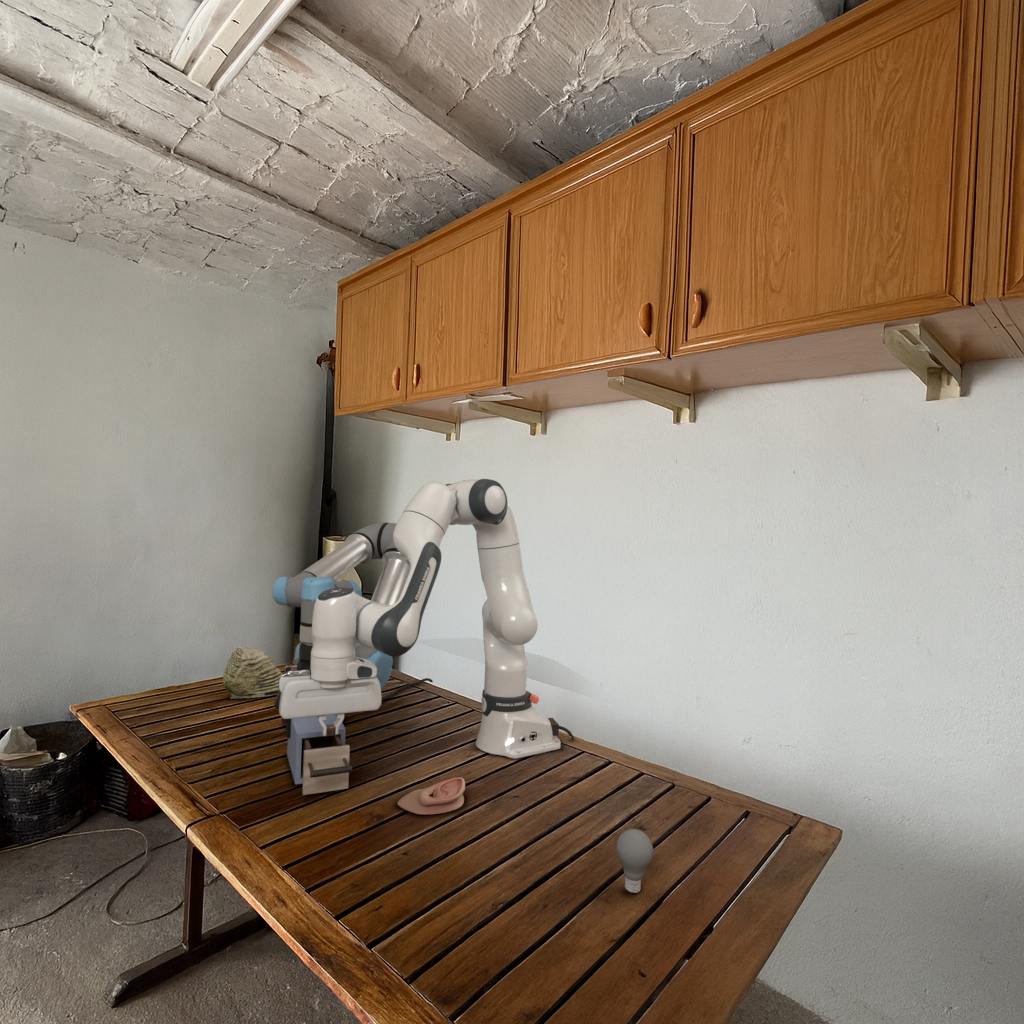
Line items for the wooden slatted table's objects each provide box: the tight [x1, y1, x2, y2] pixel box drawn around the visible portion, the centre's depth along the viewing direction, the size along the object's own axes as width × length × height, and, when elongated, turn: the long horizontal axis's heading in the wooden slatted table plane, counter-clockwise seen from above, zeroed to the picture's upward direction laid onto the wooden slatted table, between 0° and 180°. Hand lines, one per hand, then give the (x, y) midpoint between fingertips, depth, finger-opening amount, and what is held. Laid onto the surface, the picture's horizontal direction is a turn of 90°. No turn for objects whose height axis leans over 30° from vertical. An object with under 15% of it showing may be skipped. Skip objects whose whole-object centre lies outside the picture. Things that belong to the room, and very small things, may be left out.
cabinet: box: [286, 714, 347, 786], centre depth 148 cm, size 17×10×11 cm, turn 25°
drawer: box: [301, 735, 353, 796], centre depth 138 cm, size 22×9×9 cm, turn 25°
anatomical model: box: [397, 776, 466, 816], centre depth 133 cm, size 13×4×12 cm
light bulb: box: [615, 828, 654, 894], centre depth 106 cm, size 6×6×10 cm
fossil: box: [222, 646, 283, 699], centre depth 198 cm, size 9×18×15 cm, turn 132°
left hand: (312, 733), depth 152 cm, fingers closed on cabinet, 10 cm apart
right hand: (330, 734), depth 130 cm, fingers closed
